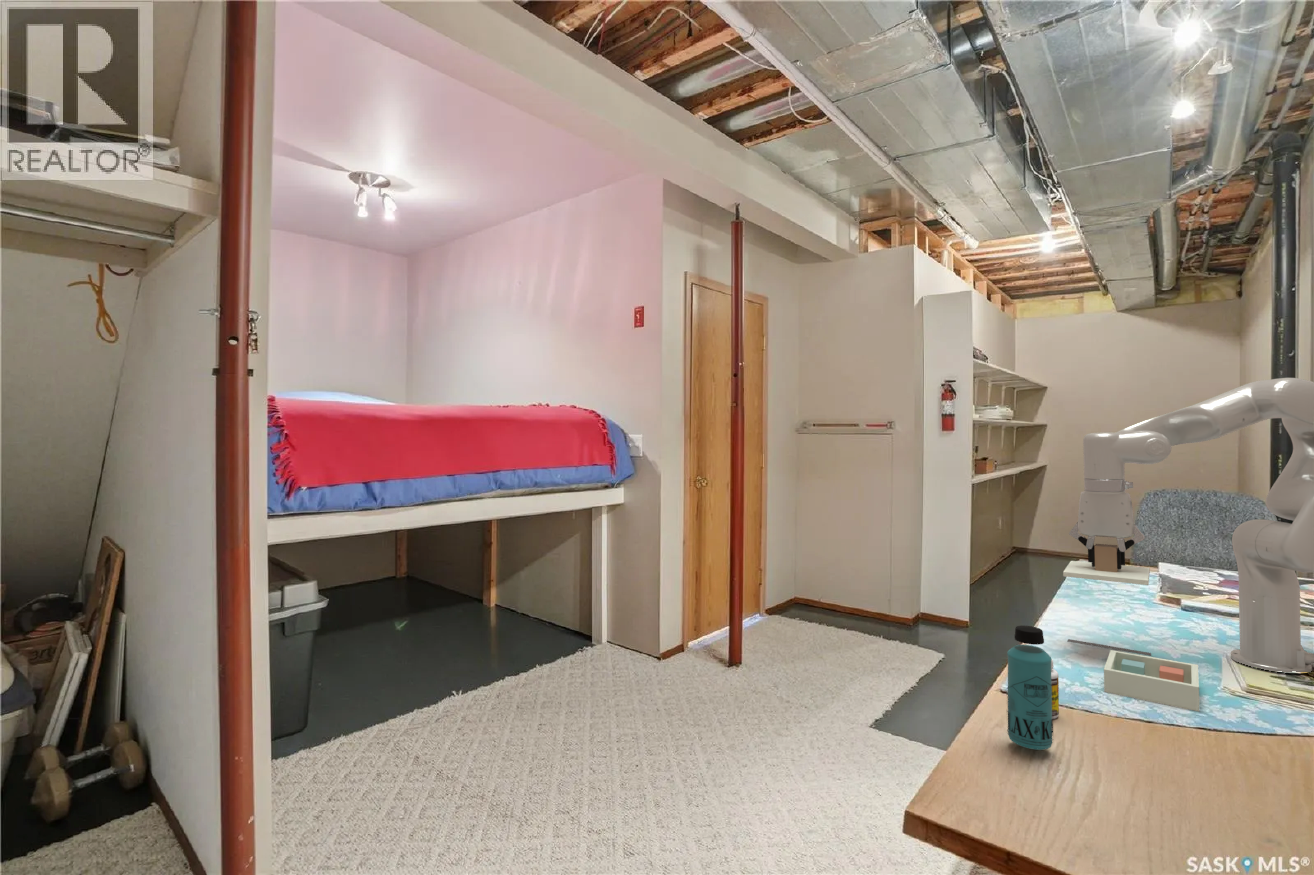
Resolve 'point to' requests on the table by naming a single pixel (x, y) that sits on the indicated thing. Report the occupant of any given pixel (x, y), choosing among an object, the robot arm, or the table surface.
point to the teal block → (1133, 667)
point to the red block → (1171, 674)
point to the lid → (1107, 568)
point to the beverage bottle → (1029, 691)
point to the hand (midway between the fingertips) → (1106, 566)
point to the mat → (1109, 647)
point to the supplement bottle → (1055, 692)
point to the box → (1152, 681)
